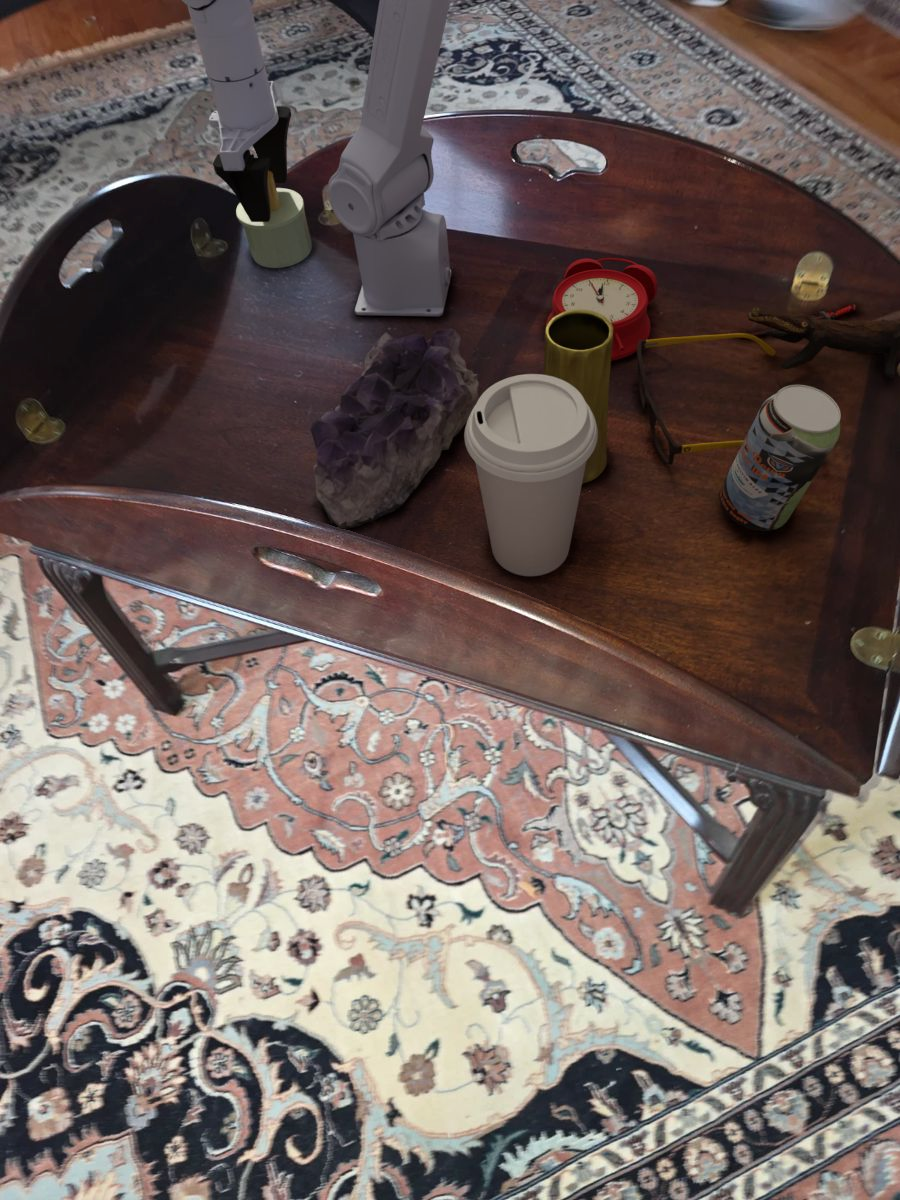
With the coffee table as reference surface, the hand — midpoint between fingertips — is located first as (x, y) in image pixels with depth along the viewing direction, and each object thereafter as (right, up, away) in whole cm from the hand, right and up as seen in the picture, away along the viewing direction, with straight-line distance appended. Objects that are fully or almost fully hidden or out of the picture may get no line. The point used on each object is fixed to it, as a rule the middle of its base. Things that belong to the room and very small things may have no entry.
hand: (269, 200), depth 97 cm
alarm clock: (+35, -16, -7) cm, 39 cm away
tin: (0, -3, +5) cm, 6 cm away
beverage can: (+46, -37, -23) cm, 63 cm away
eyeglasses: (+45, -27, -16) cm, 55 cm away
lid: (0, -1, +1) cm, 1 cm away
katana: (+54, -19, -11) cm, 58 cm away
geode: (+15, -31, -16) cm, 38 cm away
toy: (+58, -22, -13) cm, 63 cm away
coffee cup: (+27, -40, -23) cm, 53 cm away
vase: (+31, -32, -18) cm, 48 cm away
